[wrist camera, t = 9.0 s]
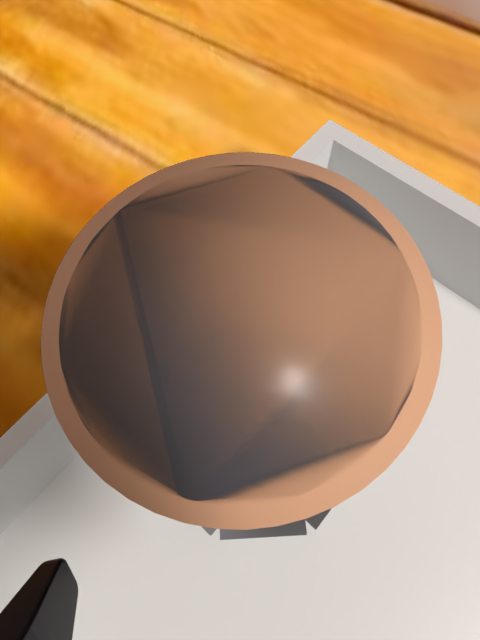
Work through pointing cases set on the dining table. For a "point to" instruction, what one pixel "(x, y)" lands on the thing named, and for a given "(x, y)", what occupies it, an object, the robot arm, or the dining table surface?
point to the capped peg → (241, 341)
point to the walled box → (300, 536)
